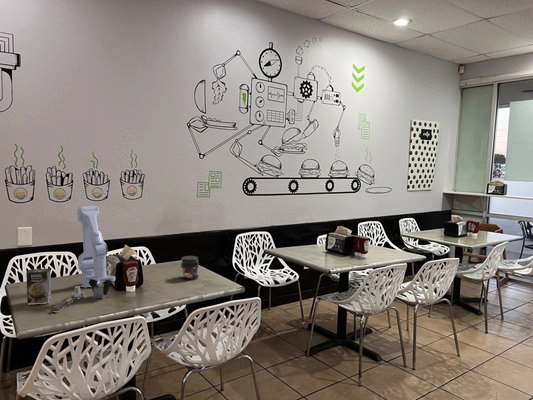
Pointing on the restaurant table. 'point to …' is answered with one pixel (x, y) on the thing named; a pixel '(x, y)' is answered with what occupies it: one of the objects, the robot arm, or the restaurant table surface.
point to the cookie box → (38, 286)
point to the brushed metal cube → (99, 291)
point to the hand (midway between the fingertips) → (100, 294)
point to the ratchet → (74, 295)
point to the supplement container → (189, 268)
